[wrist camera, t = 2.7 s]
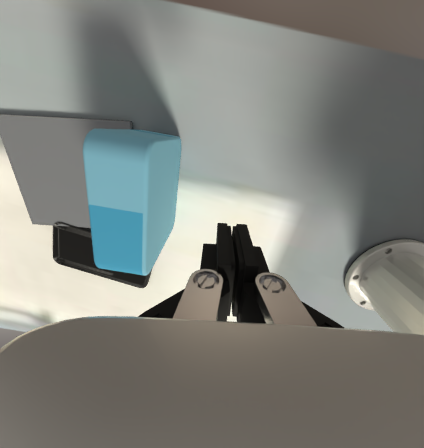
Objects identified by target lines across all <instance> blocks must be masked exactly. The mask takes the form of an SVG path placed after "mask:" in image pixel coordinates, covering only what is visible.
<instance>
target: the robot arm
mask: <svg viewBox="0 0 424 448" xmlns="http://www.w3.org/2000/svg"><path fill="white" fill-rule="evenodd" d="M345 288H346V291H347V293H348V295H349V296H350V298H351V299H352V300H353V301H354V302H355V303H356V304H357V305H359V306H361V307H363V308H365V309H369V310H375V311H376V312H377V313H378V314H379V316H380V317H381V318H382V319H383V320H384V321H385V323H386V324H387V325H388V326H389V327H390V328H391V330H392V331H393V332H389V331H376V330H361V329H346V328H344V327H342V326H341V325H339V324H338V323H336V322H335V321H333V320H331V319H330V318H328V317H326V316H325V315H323V314H322V313H320V312H318V311H317V310H315V309H313V308H312V307H310V306H308V305H307V304H305V303H303V302H302V301H300V299H299V298H298V296H297V295H296V293H295V292H294V290H293V289H292V287H291V286H290V284H289V283H288V282H287V280H286V279H284V278H283V277H282V276H280V275H278V274H275V273H270V272H269V269H268V267H267V264H266V261H265V258H264V256H263V253H262V250H261V248H260V247H255V246H253V245H252V241H251V238H250V235H249V231H248V228H247V225H245V224H237V226H233V231H232V234H231V226H227V224H226V223H218V226H217V241H216V244H203V252H202V260H201V267H200V270H198V271H195V272H194V273H192V275H191V276H190V278H189V280H188V283H187V285H186V288H185V289H183V290H182V291H180V292H178V293H177V294H175V295H173V296H171V297H170V298H168V299H166V300H164V301H163V302H161V303H159V304H158V305H156V306H154V307H152V308H151V309H149V310H147V311H145V312H144V313H142V314H141V315H140V316H139V317H118V316H97V317H82V318H76V319H69V320H64V321H60V322H56V323H52V324H48V325H45V326H42V327H39V328H36V329H33V330H31V331H28V332H26V333H24V334H23V335H20V336H18V337H16V338H15V339H13V340H12V341H10V342H9V343H7V344H6V345H5V346H3V347H2V348H1V349H0V448H424V243H422V242H420V241H416V240H407V239H402V240H393V241H389V242H385V243H382V244H380V245H377V246H375V247H373V248H371V249H369V250H368V251H366V252H365V253H363V254H362V255H361V256H360V257H359V258H358V259H356V260H355V261H354V263H353V264H352V265H351V267H350V268H349V270H348V272H347V274H346V278H345ZM231 302H232V314H233V316H237V322H228V321H227V316H230V309H231Z"/></svg>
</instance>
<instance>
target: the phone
mask: <svg viewBox="0 0 424 448" xmlns="http://www.w3.org/2000/svg"><path fill="white" fill-rule="evenodd" d="M58 224H64V225H67V226H57V225H58ZM53 259H54V260H55V261H56V262H57V263H58V264H61V265H64V266H67V267H71V268H74V269H78V270H81V271H84V272H88V273H91V274H94V275H98V276H101V277H104V278H108V279H111V280H115V281H118V282H121V283H125V284H128V285H131V286H135V287H138V288H144V287H146V286H147V284H148V282H149V278H150V275H151V271H152V269H151V271H150V273H149V274H148V275H145V276H144V275H138V274H132V273H126V272H119V271H113V270H107V269H101V268H98V267H97V266H96V265H95V262H94V255H93V245H92V236H91V228H85V227H75V226H72V225H69V224H66V223H63V222H57V223H55V224H54V226H53Z"/></svg>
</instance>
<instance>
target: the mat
mask: <svg viewBox="0 0 424 448" xmlns="http://www.w3.org/2000/svg"><path fill="white" fill-rule="evenodd" d="M92 129H130V130H133V127H132V121H115V120H96V119H78V118H59V117H40V116H21V115H2V114H0V136H1V138H2V141H3V144H4V147H5V149H6V152H7V155H8V158H9V161H10V163H11V166H12V169H13V172H14V174H15V177H16V180H17V183H18V185H19V188H20V191H21V194H22V196H23V199H24V202H25V205H26V207H27V210H28V213H29V216H30V218H31V221H32V224H39V225H54V224H55V223H57V222H63V223H66V224H69V225H72V226H75V227H85V228H91V226H90V217H89V208H88V198H87V189H86V179H85V170H84V160H83V143H84V140H85V137H86V135H87V134H88V132H90V131H91V130H92ZM57 226H67V225H64V224H58V225H57Z"/></svg>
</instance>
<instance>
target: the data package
mask: <svg viewBox="0 0 424 448" xmlns="http://www.w3.org/2000/svg"><path fill="white" fill-rule="evenodd" d="M180 157H181V139H180V137H178V136H173V135H168V134H162V133H157V132H151V131H145V130H130V129H92V130H91V131H90V132H88V134H87V135H86V137H85V140H84V143H83V160H84V170H85V179H86V189H87V198H88V208H89V217H90V226H91V236H92V245H93V255H94V262H95V265H96V266H97V267H98V268H101V269H107V270H113V271H119V272H126V273H132V274H138V275H144V276H145V275H148V274H149V273H150V271H151V269H152V267H153V265H154V264H155V262H156V260H157V258H158V256H159V254H160V252H161V250H162V248H163V246H164V244H165V242H166V240H167V239H168V237H169V235H170V233H171V231H172V229H173V225H174V220H175V211H176V200H177V190H178V179H179V168H180Z"/></svg>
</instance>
